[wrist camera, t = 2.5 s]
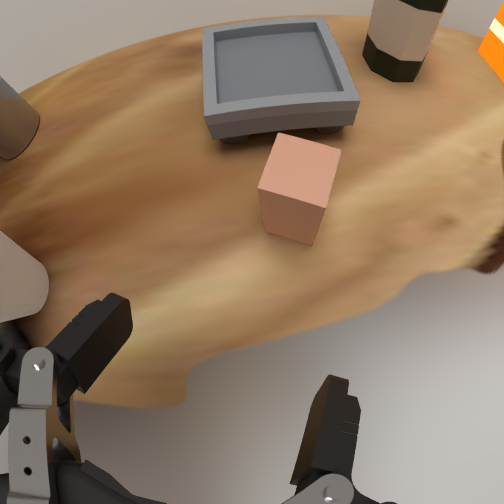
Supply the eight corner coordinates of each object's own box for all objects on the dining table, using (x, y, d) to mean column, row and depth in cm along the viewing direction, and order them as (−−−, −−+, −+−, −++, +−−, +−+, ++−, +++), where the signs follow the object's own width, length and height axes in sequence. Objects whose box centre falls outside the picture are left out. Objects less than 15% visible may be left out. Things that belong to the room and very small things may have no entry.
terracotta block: (312, 246, 29) (325, 208, 20) (265, 231, 30) (257, 187, 20) (324, 202, 30) (341, 149, 20) (280, 189, 31) (278, 132, 21)
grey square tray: (218, 154, 32) (203, 116, 26) (213, 67, 36) (202, 29, 29) (348, 140, 31) (360, 100, 25) (320, 56, 35) (323, 16, 28)
